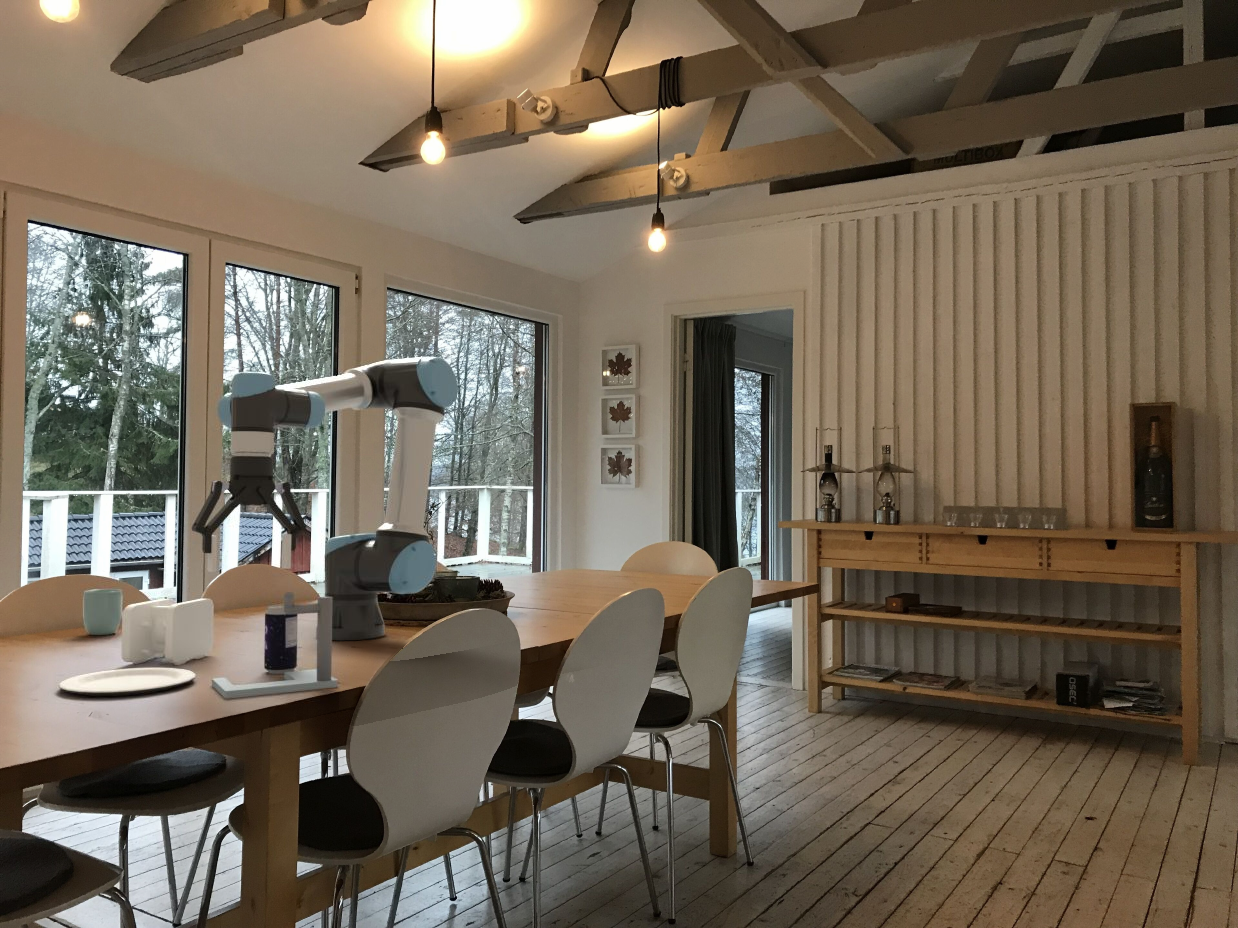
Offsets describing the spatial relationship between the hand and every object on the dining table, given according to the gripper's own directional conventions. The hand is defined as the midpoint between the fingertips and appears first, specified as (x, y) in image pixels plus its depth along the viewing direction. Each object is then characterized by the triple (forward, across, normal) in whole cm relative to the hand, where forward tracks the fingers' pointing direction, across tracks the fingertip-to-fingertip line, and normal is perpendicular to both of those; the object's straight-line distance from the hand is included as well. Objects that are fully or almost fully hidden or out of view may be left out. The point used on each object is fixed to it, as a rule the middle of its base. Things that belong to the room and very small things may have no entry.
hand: (249, 570), depth 179 cm
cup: (+19, +11, -65) cm, 68 cm away
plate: (+19, +20, +2) cm, 28 cm away
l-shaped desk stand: (+19, +1, +17) cm, 25 cm away
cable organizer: (+19, +9, -20) cm, 29 cm away
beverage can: (+19, -4, +5) cm, 20 cm away
